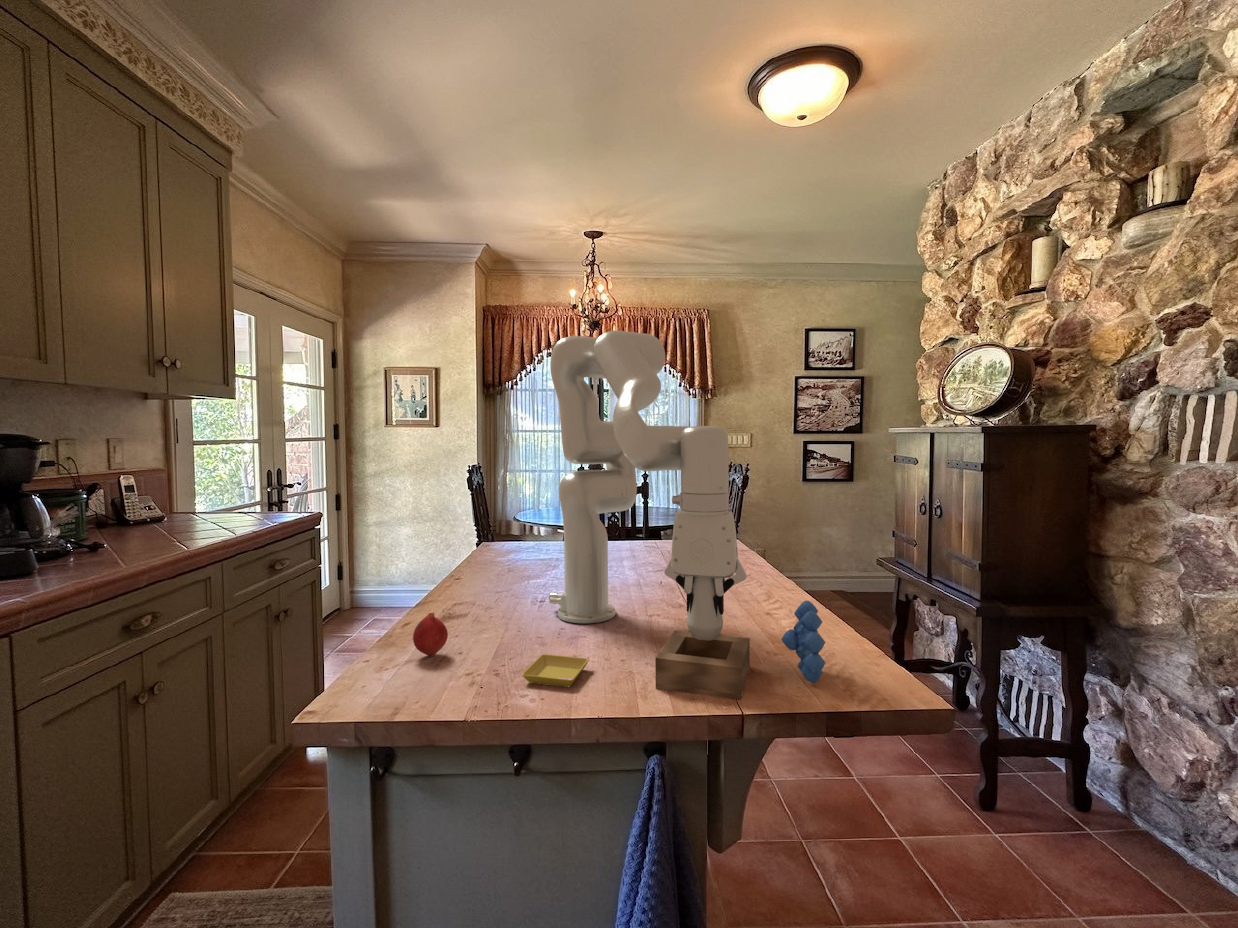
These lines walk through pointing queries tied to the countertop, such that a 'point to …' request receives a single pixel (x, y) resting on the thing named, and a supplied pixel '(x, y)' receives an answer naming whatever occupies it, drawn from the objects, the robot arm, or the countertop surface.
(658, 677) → the shaker holder
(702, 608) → the salt shaker
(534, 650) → the countertop surface
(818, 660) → the grapes
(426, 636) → the onion
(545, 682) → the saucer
